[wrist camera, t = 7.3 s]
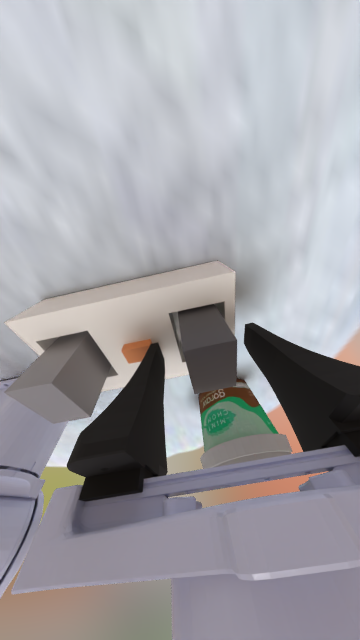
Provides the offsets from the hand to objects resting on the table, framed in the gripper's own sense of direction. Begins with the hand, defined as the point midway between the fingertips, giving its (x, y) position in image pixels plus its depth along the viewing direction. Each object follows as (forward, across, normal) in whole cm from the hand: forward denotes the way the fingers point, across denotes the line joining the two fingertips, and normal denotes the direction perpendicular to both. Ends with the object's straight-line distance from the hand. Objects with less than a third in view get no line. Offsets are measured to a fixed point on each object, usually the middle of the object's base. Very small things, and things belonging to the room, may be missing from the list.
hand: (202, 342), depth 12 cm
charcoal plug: (+4, +11, 0) cm, 12 cm away
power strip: (+5, +6, 0) cm, 7 cm away
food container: (+5, -1, +16) cm, 17 cm away
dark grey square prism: (+4, 0, 0) cm, 4 cm away
